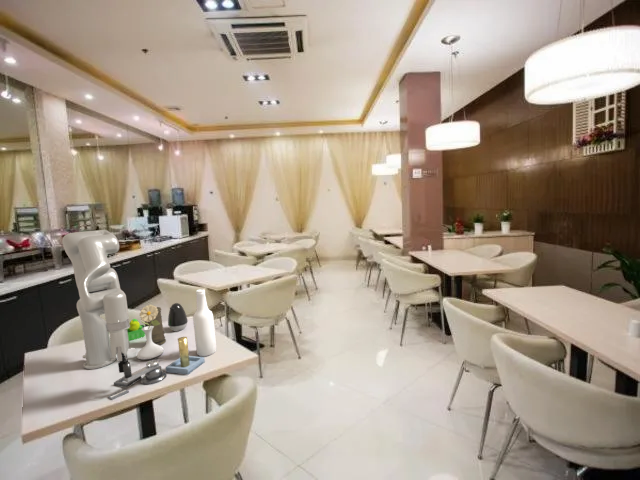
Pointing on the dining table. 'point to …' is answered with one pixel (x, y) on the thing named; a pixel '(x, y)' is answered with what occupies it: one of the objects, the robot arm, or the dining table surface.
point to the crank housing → (145, 378)
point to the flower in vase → (149, 334)
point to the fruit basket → (135, 330)
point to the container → (157, 329)
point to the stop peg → (183, 351)
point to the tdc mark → (118, 394)
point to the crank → (131, 376)
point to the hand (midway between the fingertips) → (124, 371)
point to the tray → (177, 368)
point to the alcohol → (204, 326)
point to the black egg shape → (177, 317)
